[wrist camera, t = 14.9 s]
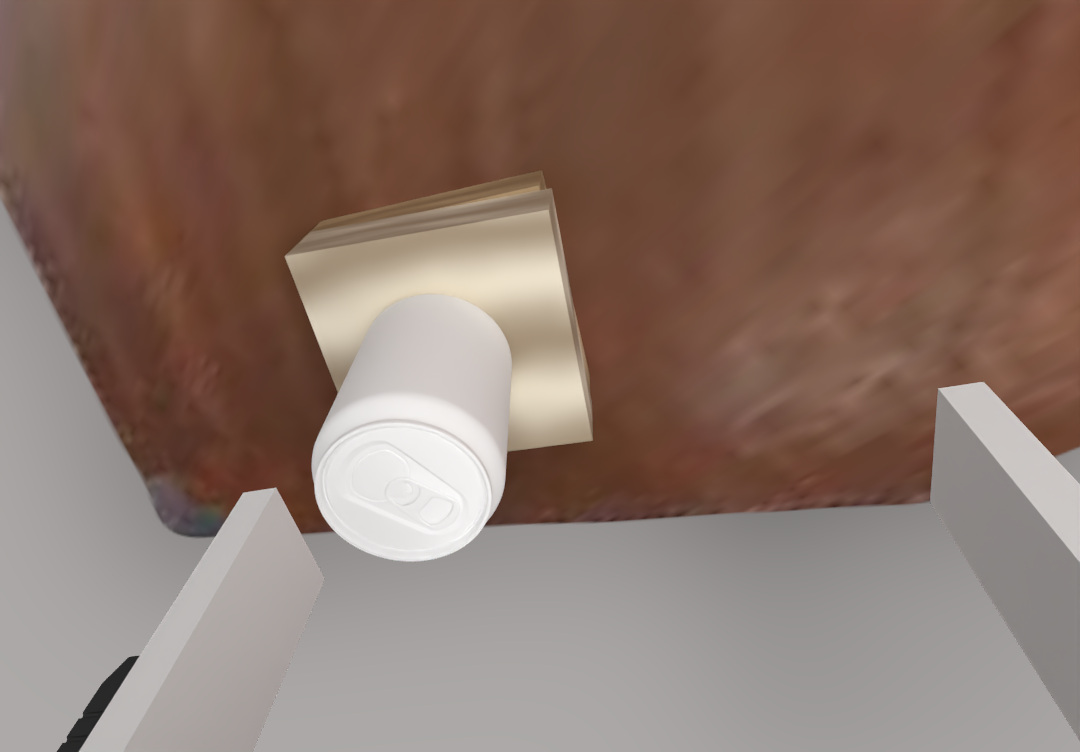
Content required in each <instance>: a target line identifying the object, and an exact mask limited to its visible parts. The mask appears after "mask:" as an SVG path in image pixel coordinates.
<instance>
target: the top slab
mask: <svg viewBox="0 0 1080 752" xmlns="http://www.w3.org/2000/svg"><path fill="white" fill-rule="evenodd" d="M285 259H286V261H287V264H288V266H289V269H290V271H291V274H292V276H293V279H294V282H295V284H296V287H297V289H298V292H299V294H300V297H301V299H302V302H303V305H304V307H305V310H306V312H307V315H308V317H309V320H310V323H311V325H312V328H313V330H314V333H315V335H316V338H317V340H318V343H319V346H320V348H321V351H322V353H323V356H324V358H325V361H326V364H327V366H328V369H329V371H330V374H331V376H332V379H333V381H334V384H335V387H336V389H337V392H338V393H339V390H340V388H341V386H342V384H343V382H344V380H345V378H346V376H347V374H348V371H349V369H350V367H351V365H352V363H353V361H354V359H355V357H356V355H357V353H358V350H359V348H360V346H361V344H362V342H363V340H364V338H365V336H366V334H367V332H368V330H369V328H370V326H371V325H372V323H373V322H374V320H375V319H376V318H377V317H378V316H379V315H380V314H381V313H382V312H383V311H384V310H385V309H387V308H388V307H389V306H391V305H393V304H394V303H396V302H398V301H401V300H403V299H406V298H409V297H413V296H417V295H424V294H440V295H447V296H452V297H456V298H459V299H462V300H465V301H467V302H469V303H471V304H473V305H475V306H477V307H478V308H480V309H481V310H483V311H484V312H485V313H486V314H488V315H489V316H490V317H491V318H492V319H493V320H494V321H495V322H496V324H497V325H498V326H499V327H500V329H501V330H502V332H503V334H504V335H505V337H506V340H507V342H508V345H509V348H510V352H511V358H512V374H511V391H510V408H509V425H508V442H507V451H515V450H523V449H531V448H539V447H546V446H554V445H562V444H570V443H578V442H585V441H593V434H592V402H591V397H590V391H589V386H588V381H587V375H586V370H585V364H584V359H583V354H582V348H581V343H580V338H579V332H578V327H577V322H576V316H575V311H574V305H573V300H572V295H571V289H570V284H569V279H568V273H567V268H566V262H565V257H564V252H563V246H562V241H561V236H560V230H559V225H558V219H557V214H556V209H555V203H554V198H553V193H552V188H550V189H545V190H539V191H534V192H528V193H523V194H517V195H512V196H506V197H501V198H495V199H489V200H484V201H478V202H473V203H467V204H462V205H456V206H451V207H445V208H440V209H434V210H429V211H423V212H418V213H412V214H407V215H401V216H396V217H390V218H385V219H379V220H374V221H368V222H363V223H357V224H351V225H346V226H340V227H335V228H329V229H324V230H318V231H313V232H310V233H309V234H308V235H307V236H306V237H305V238H304V239H303V240H301V241H300V242H299V243H298V244H297V245H296V246H295V247H294V248H293V249H292V250H291V251H290V252H289V253H288V254H287V255H285Z"/></svg>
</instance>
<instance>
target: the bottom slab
mask: <svg viewBox="0 0 1080 752" xmlns="http://www.w3.org/2000/svg"><path fill="white" fill-rule="evenodd" d="M545 189H546V185H545V181H544V177H543V172H542V170H541V171H536V172H532V173H528V174H523V175H519V176H515V177H510V178H506V179H502V180H497V181H493V182H489V183H484V184H480V185H476V186H471V187H467V188H462V189H458V190H454V191H449V192H445V193H441V194H436V195H432V196H428V197H423V198H419V199H415V200H410V201H406V202H402V203H397V204H393V205H389V206H384V207H380V208H376V209H371V210H367V211H363V212H358V213H354V214H349V215H345V216H341V217H336V218H332V219H328V220H323V221H321V222H320V223H319V224H318V225H317V226H316V227H314V228H313V229H312V230H311V231H310V232H313V231H318V230H324V229H329V228H335V227H340V226H346V225H351V224H357V223H363V222H368V221H374V220H379V219H385V218H390V217H396V216H401V215H407V214H412V213H418V212H423V211H429V210H434V209H440V208H445V207H451V206H456V205H462V204H467V203H473V202H478V201H484V200H489V199H495V198H501V197H506V196H512V195H517V194H523V193H528V192H534V191H539V190H545ZM310 232H309V233H310ZM309 233H308V234H309ZM308 234H307V235H308ZM307 235H306V236H307ZM306 236H305V237H306ZM305 237H304V238H305ZM304 238H303V239H304ZM303 239H302V240H303ZM574 311H575V309H574ZM575 316H576V313H575ZM576 322H577V318H576ZM577 327H578V332H579V338H580V343H581V348H582V354H583V359H584V364H585V370H586V375H587V381H588V386H589V391H590V373H589V369H588V365H587V360H586V356H585V352H584V347H583V343H582V339H581V335H580V330H579V326H578V322H577Z"/></svg>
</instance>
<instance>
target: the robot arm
mask: <svg viewBox="0 0 1080 752" xmlns="http://www.w3.org/2000/svg"><path fill="white" fill-rule="evenodd" d="M930 504H931V505H932V507H933V509H934V510H935V512H936V513H937V515H938V517H939V518H940V520H941V521H942V523H943V525H944V526H945V528H946V529H947V531H948V532H949V534H950V536H951V537H952V539H953V540H954V542H955V544H956V545H957V547H958V548H959V550H960V552H961V553H962V555H963V556H964V558H965V559H966V561H967V563H968V564H969V566H970V567H971V569H972V570H973V572H974V574H975V575H976V577H977V578H978V580H979V582H980V583H981V585H982V586H983V588H984V590H985V591H986V593H987V594H988V596H989V597H990V599H991V601H992V602H993V604H994V605H995V607H996V609H997V610H998V612H999V613H1000V615H1001V617H1002V618H1003V620H1004V621H1005V623H1006V624H1007V626H1008V628H1009V629H1010V631H1011V632H1012V634H1013V636H1014V637H1015V639H1016V640H1017V642H1018V643H1019V645H1020V647H1021V648H1022V650H1023V652H1024V653H1025V655H1026V656H1027V658H1028V659H1029V661H1030V663H1031V664H1032V666H1033V667H1034V669H1035V670H1036V672H1037V674H1038V675H1039V677H1040V678H1041V680H1042V682H1043V683H1044V685H1045V686H1046V688H1047V690H1048V691H1049V693H1050V694H1051V696H1052V698H1053V699H1054V701H1055V702H1056V704H1057V705H1058V707H1059V709H1060V710H1061V712H1062V713H1063V715H1064V717H1065V718H1066V720H1067V721H1068V723H1069V725H1070V726H1071V728H1072V729H1073V731H1074V733H1075V734H1076V736H1077V737H1078V739H1079V740H1080V484H1079V483H1078V482H1077V481H1076V480H1075V479H1074V478H1073V477H1072V476H1071V475H1070V474H1069V473H1068V471H1067V470H1066V469H1065V468H1064V467H1063V466H1062V465H1061V464H1060V463H1059V462H1058V461H1057V460H1056V459H1055V458H1054V456H1053V455H1052V454H1051V453H1050V452H1049V451H1048V450H1047V449H1046V448H1045V447H1044V446H1043V445H1042V444H1041V443H1040V441H1039V440H1038V439H1037V438H1036V437H1035V436H1034V435H1033V434H1032V433H1031V432H1030V431H1029V430H1028V429H1027V428H1026V427H1025V425H1024V424H1023V423H1022V422H1021V421H1020V420H1019V419H1018V418H1017V417H1016V416H1015V415H1014V414H1013V413H1012V412H1011V410H1010V409H1009V408H1008V407H1007V406H1006V405H1005V404H1004V403H1003V402H1002V401H1001V400H1000V399H999V398H998V397H997V395H996V394H995V393H994V392H993V391H992V390H991V389H990V388H989V387H988V386H987V385H986V384H985V383H984V382H979V383H973V384H966V385H959V386H953V387H946V388H939V389H938V399H937V413H936V427H935V441H934V455H933V469H932V483H931V497H930ZM324 580H325V578H324V576H323V574H322V573H321V571H320V569H319V567H318V565H317V563H316V561H315V559H314V558H313V556H312V554H311V552H310V550H309V548H308V547H307V544H306V543H305V541H304V539H303V537H302V535H301V533H300V531H299V529H298V528H297V526H296V524H295V522H294V520H293V518H292V516H291V515H290V513H289V511H288V509H287V507H286V505H285V503H284V501H283V500H282V498H281V496H280V494H279V492H278V490H277V488H272V489H265V490H258V491H252V492H245V493H243V494H242V496H241V497H240V499H239V500H238V502H237V504H236V505H235V507H234V508H233V510H232V511H231V513H230V515H229V516H228V518H227V519H226V521H225V522H224V524H223V526H222V527H221V529H220V530H219V532H218V533H217V535H216V537H215V538H214V540H213V541H212V543H211V545H210V546H209V548H208V549H207V551H206V552H205V554H204V555H203V557H202V559H201V560H200V562H199V563H198V565H197V566H196V568H195V570H194V571H193V573H192V574H191V576H190V578H189V579H188V581H187V582H186V584H185V585H184V587H183V588H182V590H181V592H180V593H179V595H178V596H177V598H176V599H175V601H174V603H173V604H172V606H171V607H170V609H169V610H168V612H167V614H166V615H165V617H164V618H163V620H162V622H161V623H160V625H159V626H158V628H157V629H156V631H155V632H154V634H153V636H152V637H151V639H150V640H149V642H148V643H147V645H146V647H145V648H144V650H143V651H142V653H141V655H140V656H133V657H129V658H128V659H126V661H125V662H123V663H122V665H120V666H119V668H117V669H116V670H115V671H114V672H113V673H112V674H111V675H110V676H109V677H108V678H107V679H106V680H105V681H104V682H103V683H102V684H101V686H100V688H99V689H98V691H97V692H96V694H95V695H94V697H93V698H92V700H91V701H90V703H89V704H88V706H87V707H86V709H85V710H84V712H83V718H81V719H78V721H77V722H76V724H75V725H74V727H73V728H72V730H71V731H70V733H69V734H68V736H67V742H66V743H62V745H61V746H60V748H59V749H58V751H57V752H253V750H254V748H255V746H256V743H257V741H258V738H259V736H260V733H261V731H262V728H263V726H264V724H265V721H266V719H267V717H268V714H269V712H270V709H271V707H272V705H273V702H274V700H275V698H276V695H277V693H278V690H279V688H280V686H281V683H282V681H283V678H284V676H285V674H286V671H287V669H288V666H289V664H290V661H291V659H292V657H293V654H294V652H295V650H296V647H297V645H298V642H299V640H300V637H301V635H302V633H303V630H304V628H305V626H306V623H307V621H308V618H309V616H310V614H311V611H312V609H313V606H314V604H315V602H316V599H317V597H318V594H319V592H320V590H321V587H322V585H323V582H324Z"/></svg>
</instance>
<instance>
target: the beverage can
mask: <svg viewBox="0 0 1080 752" xmlns="http://www.w3.org/2000/svg"><path fill="white" fill-rule="evenodd" d="M511 374H512V358H511V352H510V348H509V345H508V342H507V340H506V337H505V335H504V334H503V332H502V330H501V329H500V327H499V326H498V325H497V324H496V322H495V321H494V320H493V319H492V318H491V317H490V316H489V315H488V314H486V313H485V312H484V311H483V310H481V309H480V308H478V307H477V306H475V305H473V304H471V303H469V302H467V301H465V300H462V299H459V298H456V297H452V296H447V295H440V294H424V295H417V296H413V297H409V298H406V299H403V300H401V301H398V302H396V303H394V304H393V305H391V306H389V307H388V308H387V309H385V310H384V311H383V312H382V313H381V314H380V315H379V316H378V317H377V318H376V319H375V320H374V322H373V323H372V325H371V326H370V328H369V330H368V332H367V334H366V336H365V338H364V340H363V342H362V344H361V346H360V348H359V350H358V353H357V355H356V357H355V359H354V361H353V363H352V365H351V367H350V369H349V371H348V374H347V376H346V378H345V380H344V382H343V384H342V386H341V388H340V390H339V393H338V395H337V397H336V399H335V401H334V403H333V405H332V407H331V409H330V411H329V414H328V416H327V418H326V420H325V422H324V424H323V426H322V428H321V430H320V433H319V435H318V437H317V439H316V442H315V445H314V449H313V454H312V476H313V481H314V489H315V496H316V501H317V504H318V507H319V509H320V511H321V513H322V515H323V517H324V518H325V520H326V521H327V523H328V524H329V525H330V527H331V528H332V529H333V530H334V531H335V532H336V533H337V534H338V535H339V536H341V537H342V538H343V539H344V540H345V541H347V542H348V543H350V544H351V545H353V546H355V547H356V548H358V549H360V550H362V551H365V552H367V553H369V554H372V555H375V556H378V557H381V558H386V559H391V560H397V561H425V560H431V559H436V558H440V557H443V556H446V555H449V554H451V553H453V552H455V551H457V550H459V549H461V548H463V547H464V546H465V545H467V544H468V543H469V542H471V541H472V540H473V539H474V538H475V537H476V536H477V535H478V534H479V532H480V531H481V530H482V528H483V527H484V525H485V523H486V522H487V521H488V520H489V518H490V517H491V516H492V514H493V513H494V511H495V510H496V508H497V506H498V504H499V502H500V500H501V497H502V494H503V490H504V486H505V476H506V459H507V442H508V425H509V408H510V391H511Z"/></svg>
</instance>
